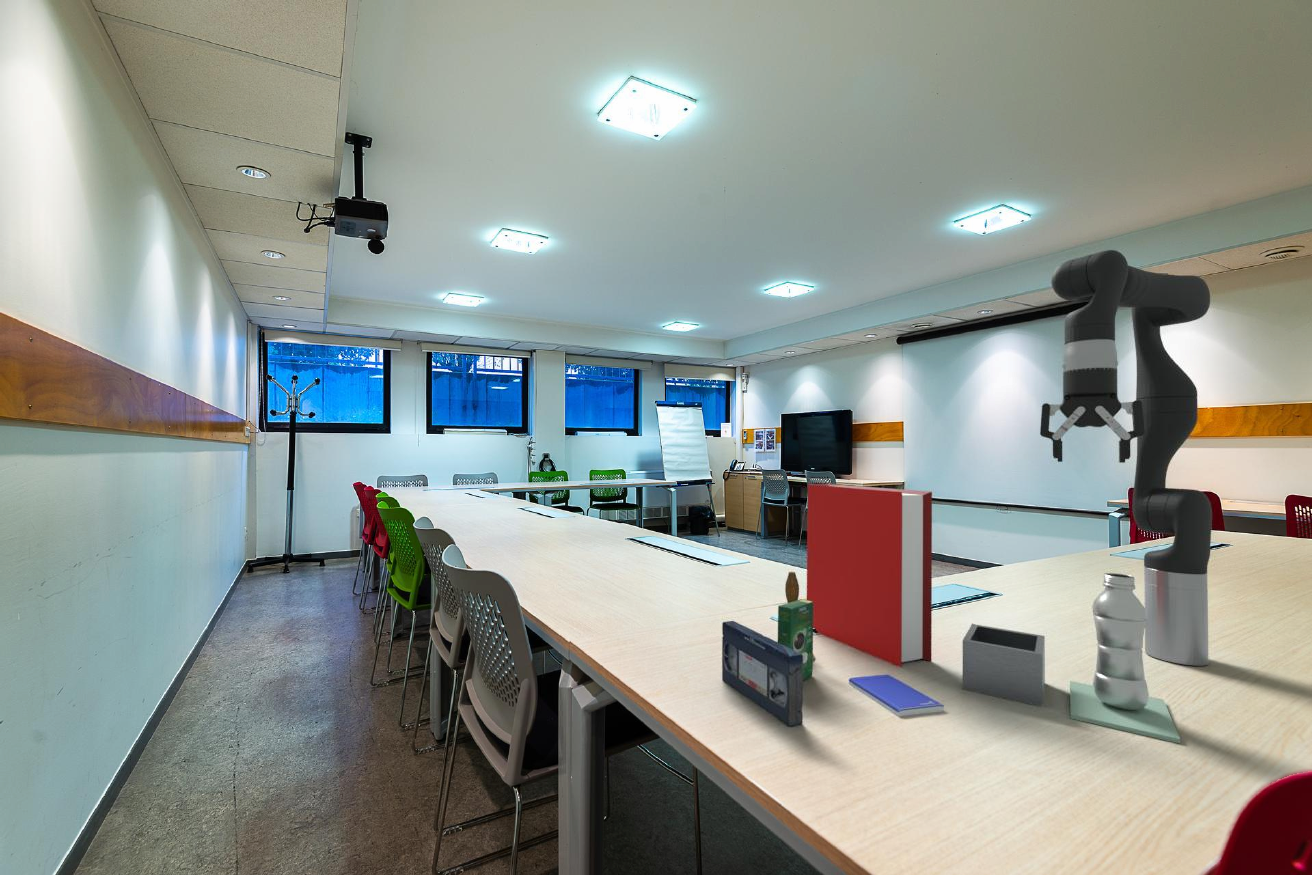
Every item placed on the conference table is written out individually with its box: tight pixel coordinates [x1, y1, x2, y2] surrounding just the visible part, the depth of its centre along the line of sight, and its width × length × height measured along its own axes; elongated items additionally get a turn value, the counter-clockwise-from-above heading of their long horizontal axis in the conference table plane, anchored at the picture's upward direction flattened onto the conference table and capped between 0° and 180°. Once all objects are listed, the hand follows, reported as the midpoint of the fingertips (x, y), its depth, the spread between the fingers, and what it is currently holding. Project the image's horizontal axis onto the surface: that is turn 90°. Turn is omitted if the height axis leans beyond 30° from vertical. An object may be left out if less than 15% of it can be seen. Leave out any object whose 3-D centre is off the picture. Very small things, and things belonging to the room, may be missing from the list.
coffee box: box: [777, 598, 814, 681], centre depth 97 cm, size 8×3×13 cm, turn 137°
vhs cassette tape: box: [721, 620, 804, 728], centre depth 88 cm, size 18×3×10 cm, turn 23°
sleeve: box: [962, 623, 1046, 708], centre depth 96 cm, size 12×11×8 cm
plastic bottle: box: [1091, 572, 1150, 710], centre depth 87 cm, size 6×7×20 cm
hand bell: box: [784, 571, 816, 661], centre depth 109 cm, size 8×8×16 cm
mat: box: [1069, 680, 1181, 744], centre depth 87 cm, size 16×12×1 cm
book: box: [806, 483, 933, 668], centre depth 118 cm, size 27×8×32 cm, turn 25°
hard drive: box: [848, 674, 945, 717], centre depth 91 cm, size 2×8×12 cm
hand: (1090, 462), depth 98 cm, fingers open, 8 cm apart
